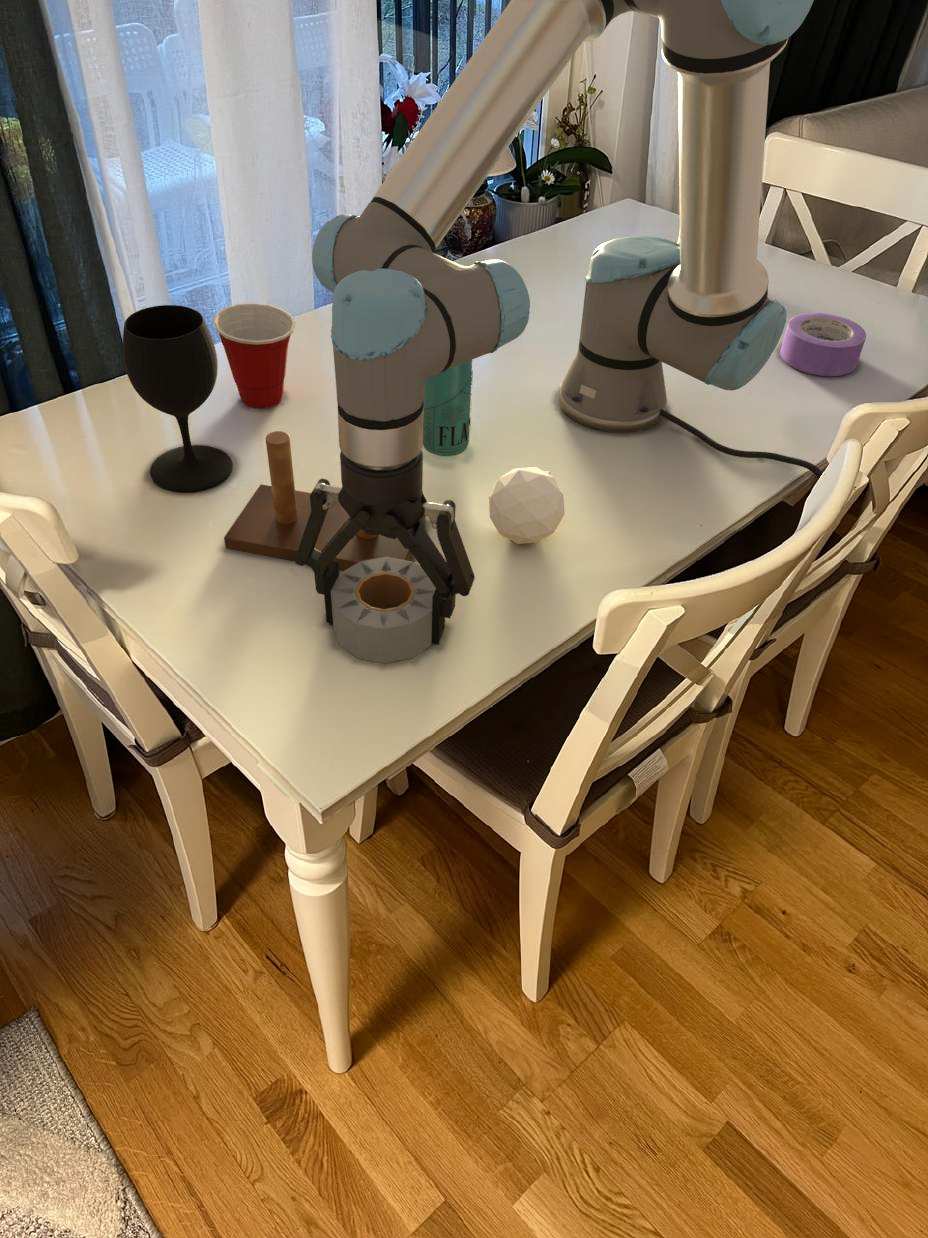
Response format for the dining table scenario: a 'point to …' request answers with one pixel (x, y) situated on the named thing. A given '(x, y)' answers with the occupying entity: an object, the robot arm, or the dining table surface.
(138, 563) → the dining table surface
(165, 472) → the wine glass
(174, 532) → the dining table surface
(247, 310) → the plastic cup
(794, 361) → the tape roll
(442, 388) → the beverage bottle
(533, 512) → the white faceted ball
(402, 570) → the duct tape
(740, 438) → the dining table surface
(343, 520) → the peg rack
